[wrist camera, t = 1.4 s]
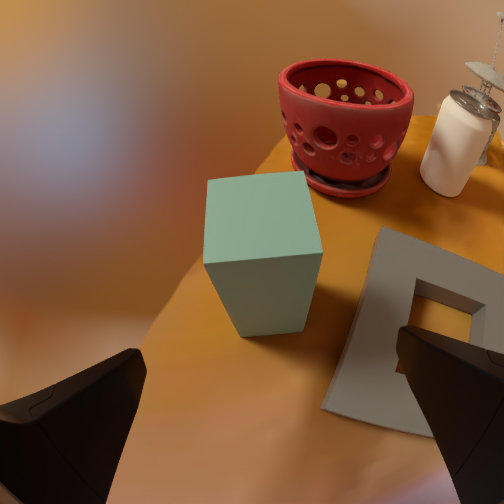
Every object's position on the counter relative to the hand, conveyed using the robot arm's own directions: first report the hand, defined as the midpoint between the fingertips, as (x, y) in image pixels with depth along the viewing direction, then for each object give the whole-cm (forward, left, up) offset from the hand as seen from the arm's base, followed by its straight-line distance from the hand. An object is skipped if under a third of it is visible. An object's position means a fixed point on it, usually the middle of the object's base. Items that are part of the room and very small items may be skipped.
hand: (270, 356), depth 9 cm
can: (+26, -16, -13) cm, 33 cm away
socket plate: (+5, -13, -13) cm, 19 cm away
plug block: (+6, +2, -13) cm, 14 cm away
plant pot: (+24, -2, -13) cm, 28 cm away
